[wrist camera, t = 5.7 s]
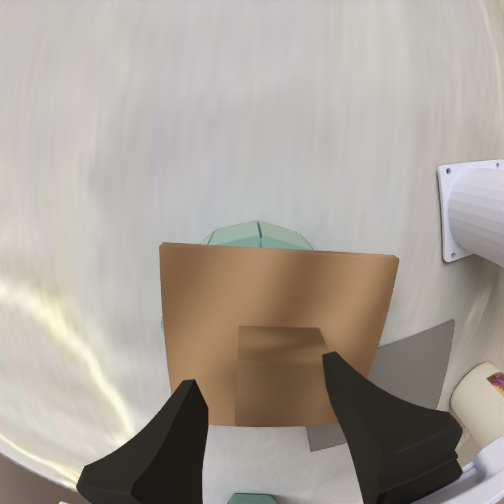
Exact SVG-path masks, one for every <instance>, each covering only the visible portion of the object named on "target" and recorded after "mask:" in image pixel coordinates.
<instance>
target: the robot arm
mask: <svg viewBox="0 0 504 504" xmlns="http://www.w3.org/2000/svg"><path fill="white" fill-rule="evenodd" d="M496 165H497V166H496ZM447 169H448V174H447V172H446V170H447ZM437 174H438V182H439V191H440V202H441V215H442V236H443V260H444V261H446V262H451V261H454V260H457V259H460V258H463V257H466V256H469V255H472V254H477V255H479V256H481V257H483V258H485V259H488V260H490V261H492V262H494V263H496V264H498V265H500V266H502V267H504V160H501V159H500V160H488V161H478V162H468V163H459V164H450V165H442V166H439V167H438V170H437ZM452 253H453V255H452ZM451 255H452V257H451ZM322 359H323V367H324V376H325V385H326V389H327V393H328V396H329V400H330V403H331V406H332V408H333V410H334V413H335V415H336V417H337V420H338V422H339V424H340V426H341V429H342V431H343V433H344V436H345V438H346V440H347V443H348V446H349V449H350V452H351V456H352V459H353V463H354V467H355V470H356V474H357V478H358V482H359V486H360V490H361V494H362V498H363V503H364V504H495V503H496V502H498V501H499V500H500V499H502V498H503V497H504V437H503V436H499V437H498V438H496V439H495V440H494V441H492V442H491V443H489V444H488V445H486V446H485V447H484V448H482V449H481V450H480V451H479V452H478V453H477V454H476V455H475V457H474V459H473V461H472V462H470V463H469V464H467V465H465V466H464V467H462V468H461V467H460V465H459V463H458V462H457V460H456V459H457V458H458V455H457V453H456V452H455V448H456V446H457V444H458V442H459V440H460V438H461V435H462V432H463V431H462V428H461V426H460V425H459V423H458V422H457V421H456V419H455V418H454V417H453V416H452V415H451V414H450V413H449V412H444V411H439V410H433V409H429V408H425V407H422V406H418V405H415V404H413V403H410V402H407V401H405V400H402V399H400V398H398V397H396V396H394V395H392V394H390V393H388V392H386V391H385V390H383V389H381V388H380V387H378V386H376V385H375V384H374V383H372V382H371V381H369V380H368V379H366V378H365V377H364V376H363V375H361V374H360V373H359V372H358V371H356V370H355V369H354V368H353V367H352V366H351V365H350V364H348V363H347V362H346V361H345V360H344V359H343V358H342V357H341V356H340V355H339V354H338V353H337V352H336V351H334V352H330V353H326V354H323V355H322ZM208 424H209V408H208V406H207V404H206V402H205V399H204V397H203V395H202V393H201V391H200V389H199V387H198V384H197V382H196V380H195V379H190V380H183V381H182V382H181V383H180V385H179V386H178V387H177V389H176V390H175V391H174V393H173V394H172V395H171V397H170V398H169V399H168V401H167V402H166V403H165V405H164V406H163V407H162V408H161V410H160V411H159V412H158V413H157V414H156V415H155V417H154V418H153V419H152V420H151V421H150V422H149V423H148V424H147V425H146V426H145V427H144V428H143V429H142V430H141V431H140V432H139V433H138V434H137V435H136V436H134V437H133V438H132V439H131V440H129V441H128V442H127V443H125V444H124V445H123V446H121V447H120V448H119V449H117V450H115V451H114V452H112V453H111V454H109V455H107V456H105V457H104V458H102V459H100V460H98V461H95V462H93V463H91V464H89V465H86V466H84V469H83V471H82V473H81V476H80V478H79V480H78V483H77V485H76V488H77V490H78V492H79V493H80V494H81V495H82V496H83V497H84V498H86V499H87V500H88V501H90V502H91V503H92V504H203V500H202V468H203V460H204V453H205V446H206V440H207V433H208ZM59 504H68V503H65V502H62V501H61V502H60V503H59Z"/></svg>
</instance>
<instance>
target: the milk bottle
mask: <svg viewBox="0 0 504 504" xmlns="http://www.w3.org/2000/svg"><path fill="white" fill-rule="evenodd" d="M451 407H452V409H453V410H454V412H455V413H456V415H457V416H458V417H459V419H460V420H461V422H462V423H463V424H464V426H465V427H466V429H467V430H468V431H469V433H470V434H471V436H472V437H473V438H474V440H475V442H476V443H477V444H478V446H479V447H480V449H482V448H484V447H485V446H486V445H488V444H489V443H491V442H492V441H494V440H495V439H496V438H498V437H499V436H503V437H504V374H503V373H502V372H501V371H500V370H499V369H498V368H497V367H496V366H494V365H493V364H492V363H489V362H485V363H482V364H479V365H478V366H476V367H475V368H473V369H472V370H471V371H470V372H469V373H468V374H467V375H466V376H465V377H464V378H463V379H462V380H461V381H460V383H459V384H458V385H457V387H456V388H455V390H454V392H453V394H452V397H451Z"/></svg>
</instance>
